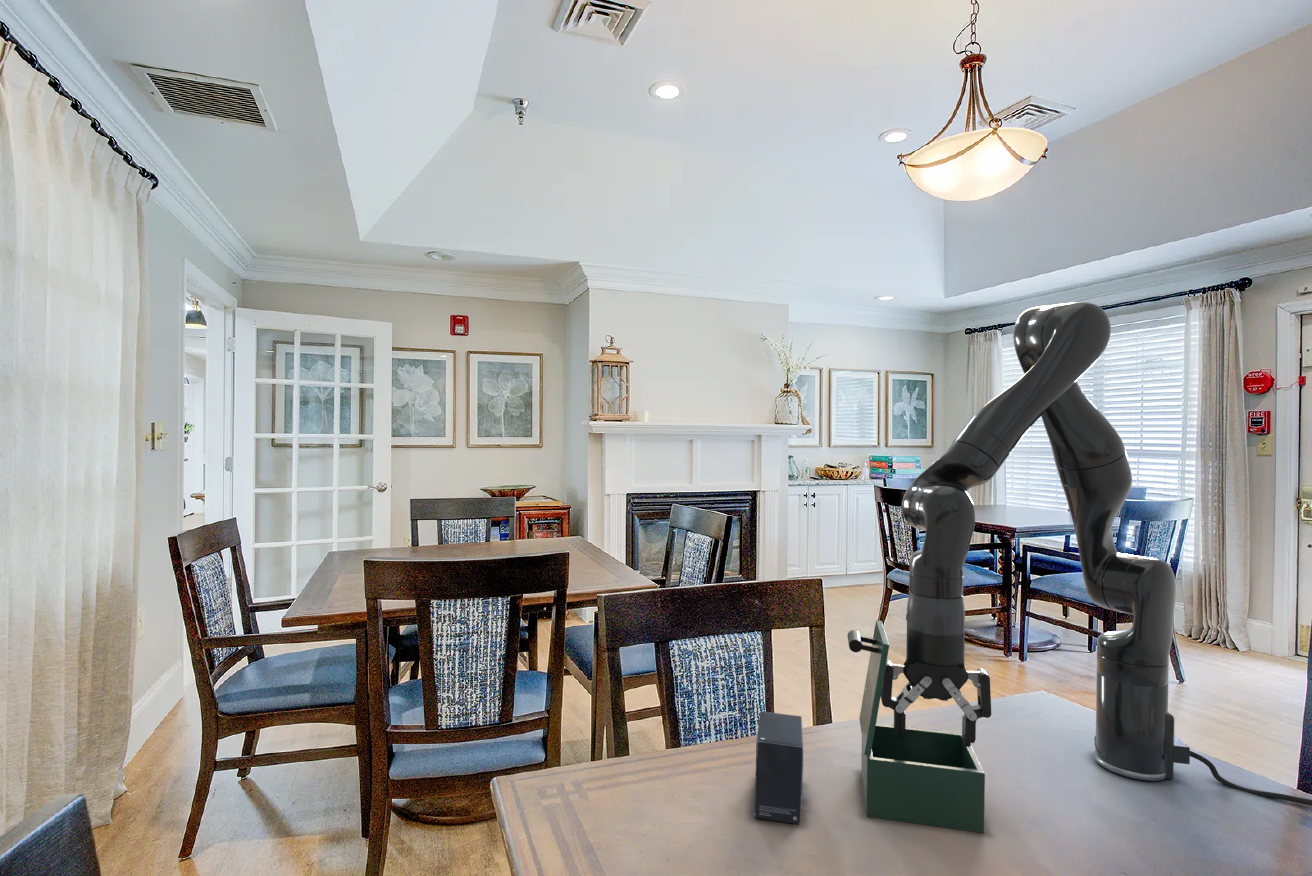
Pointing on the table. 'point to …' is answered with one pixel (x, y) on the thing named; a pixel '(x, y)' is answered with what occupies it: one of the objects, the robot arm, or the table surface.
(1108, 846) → the table surface
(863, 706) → the bin lid
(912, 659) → the robot arm
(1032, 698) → the table surface
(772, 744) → the small box
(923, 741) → the waste bin
